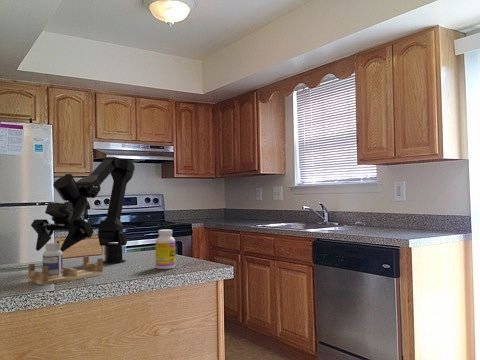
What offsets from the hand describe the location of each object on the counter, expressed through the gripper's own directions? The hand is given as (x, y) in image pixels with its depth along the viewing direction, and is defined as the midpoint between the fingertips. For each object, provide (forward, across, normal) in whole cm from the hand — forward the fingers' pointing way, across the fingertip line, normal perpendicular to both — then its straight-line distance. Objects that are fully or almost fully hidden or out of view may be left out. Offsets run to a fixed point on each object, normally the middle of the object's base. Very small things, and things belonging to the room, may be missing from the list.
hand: (49, 250), depth 125 cm
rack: (+2, +2, +10) cm, 11 cm away
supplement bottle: (-13, +24, +26) cm, 38 cm away
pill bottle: (+5, 0, +7) cm, 8 cm away
